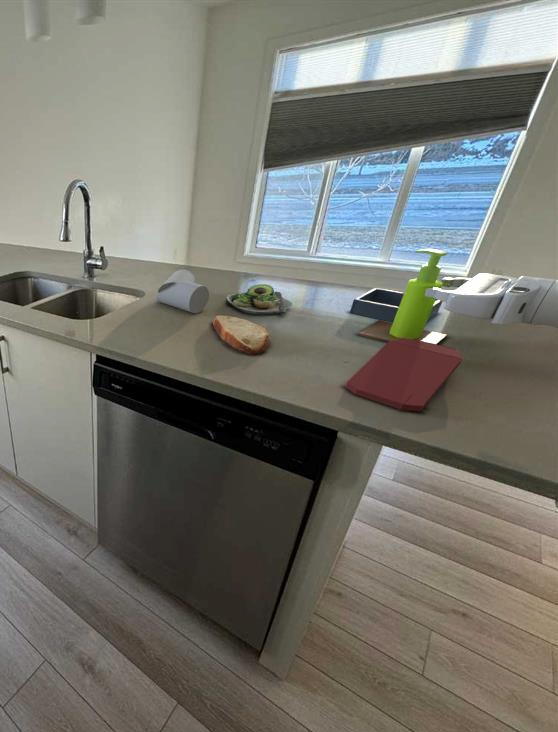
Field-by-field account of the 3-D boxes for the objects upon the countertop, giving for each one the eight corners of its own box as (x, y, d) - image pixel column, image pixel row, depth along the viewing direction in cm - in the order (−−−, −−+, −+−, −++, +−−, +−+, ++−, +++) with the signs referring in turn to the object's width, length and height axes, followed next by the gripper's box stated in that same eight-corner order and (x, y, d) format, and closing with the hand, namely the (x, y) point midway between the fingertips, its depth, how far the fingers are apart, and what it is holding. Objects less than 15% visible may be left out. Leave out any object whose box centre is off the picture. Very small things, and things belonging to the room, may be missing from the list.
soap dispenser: (396, 326, 102) (427, 246, 92) (426, 336, 97) (462, 251, 87) (379, 331, 101) (408, 249, 91) (408, 341, 95) (443, 255, 85)
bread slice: (218, 319, 117) (220, 307, 116) (285, 333, 106) (288, 319, 104) (188, 340, 107) (189, 327, 105) (258, 358, 95) (261, 344, 94)
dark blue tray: (437, 313, 109) (443, 299, 107) (418, 327, 102) (424, 312, 100) (370, 300, 120) (375, 287, 118) (349, 312, 114) (353, 299, 112)
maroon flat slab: (410, 429, 74) (462, 367, 84) (419, 409, 72) (471, 347, 81) (338, 403, 83) (392, 349, 93) (343, 384, 80) (398, 331, 90)
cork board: (446, 337, 97) (447, 334, 97) (427, 352, 91) (428, 350, 91) (378, 322, 107) (379, 319, 107) (358, 335, 102) (358, 332, 101)
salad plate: (310, 314, 115) (314, 299, 112) (249, 321, 114) (252, 305, 112) (272, 294, 132) (275, 280, 129) (219, 300, 131) (221, 286, 129)
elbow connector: (138, 298, 135) (183, 314, 120) (144, 266, 131) (192, 278, 116) (174, 297, 144) (221, 312, 129) (181, 267, 140) (230, 279, 124)
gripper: (542, 272, 84) (456, 262, 94) (515, 296, 75) (422, 282, 85) (527, 301, 87) (445, 288, 97) (499, 328, 78) (411, 311, 88)
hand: (434, 286), depth 91 cm, fingers open, 8 cm apart
